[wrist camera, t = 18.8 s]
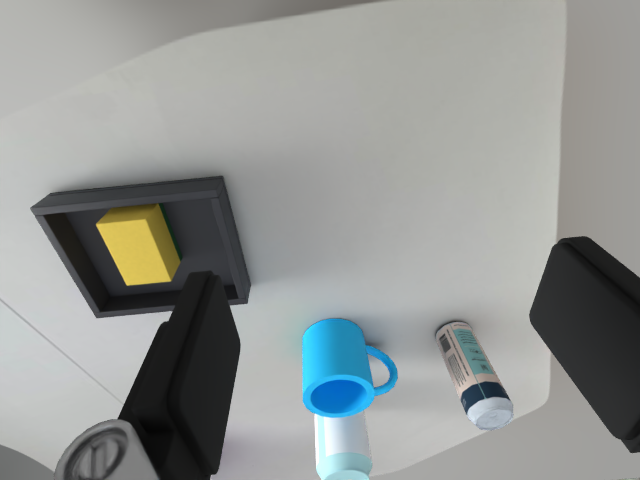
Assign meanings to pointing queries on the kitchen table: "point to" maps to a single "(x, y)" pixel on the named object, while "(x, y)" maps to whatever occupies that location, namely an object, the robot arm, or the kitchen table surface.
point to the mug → (340, 369)
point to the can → (342, 448)
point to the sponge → (141, 243)
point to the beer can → (474, 377)
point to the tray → (188, 227)
